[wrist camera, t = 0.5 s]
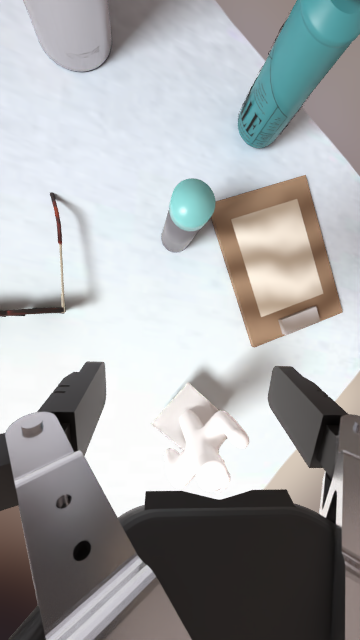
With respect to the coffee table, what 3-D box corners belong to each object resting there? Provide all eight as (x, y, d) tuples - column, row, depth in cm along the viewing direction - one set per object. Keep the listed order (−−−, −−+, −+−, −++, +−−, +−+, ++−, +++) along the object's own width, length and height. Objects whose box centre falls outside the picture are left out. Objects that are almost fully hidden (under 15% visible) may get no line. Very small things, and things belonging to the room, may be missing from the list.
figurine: (144, 417, 35) (147, 499, 20) (188, 369, 35) (222, 413, 21) (180, 447, 36) (208, 544, 21) (221, 399, 37) (277, 461, 22)
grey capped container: (156, 228, 34) (165, 185, 22) (184, 219, 34) (207, 173, 22) (166, 256, 34) (180, 230, 22) (193, 248, 35) (221, 217, 23)
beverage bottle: (281, 135, 36) (451, -72, 16) (252, 166, 36) (392, -9, 16) (251, 100, 35) (395, -166, 15) (222, 132, 34) (330, -102, 15)
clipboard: (207, 206, 35) (210, 200, 33) (302, 177, 37) (310, 171, 35) (251, 346, 37) (257, 348, 35) (338, 312, 39) (348, 312, 37)
